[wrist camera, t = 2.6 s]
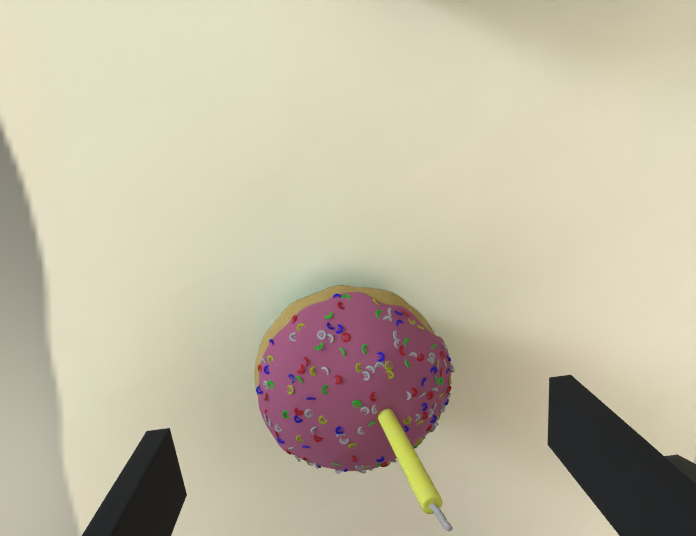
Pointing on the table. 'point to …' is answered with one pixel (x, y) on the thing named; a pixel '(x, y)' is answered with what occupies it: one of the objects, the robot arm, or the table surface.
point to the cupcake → (355, 384)
